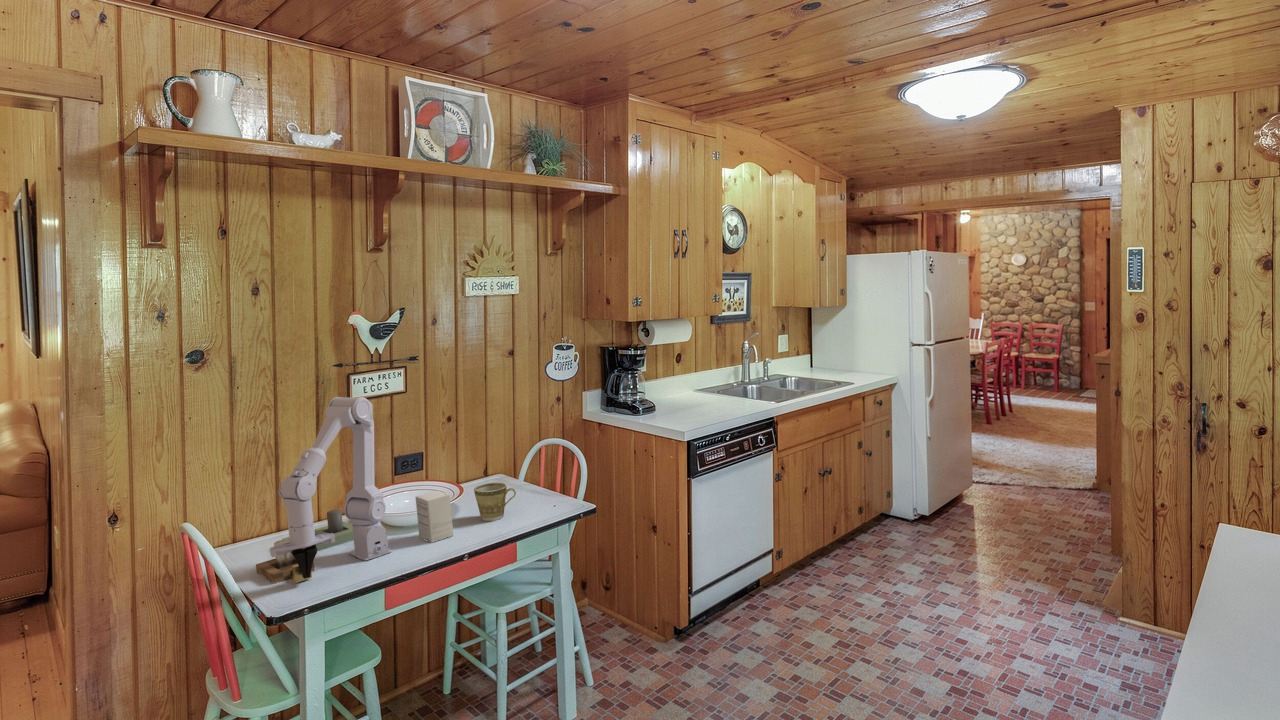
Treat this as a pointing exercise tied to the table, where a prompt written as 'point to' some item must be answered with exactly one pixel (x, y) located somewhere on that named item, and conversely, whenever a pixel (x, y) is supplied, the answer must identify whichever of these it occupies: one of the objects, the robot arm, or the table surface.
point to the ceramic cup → (492, 500)
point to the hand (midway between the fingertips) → (306, 576)
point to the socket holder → (276, 570)
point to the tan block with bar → (297, 574)
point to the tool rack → (334, 530)
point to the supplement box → (434, 516)
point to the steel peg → (283, 556)
